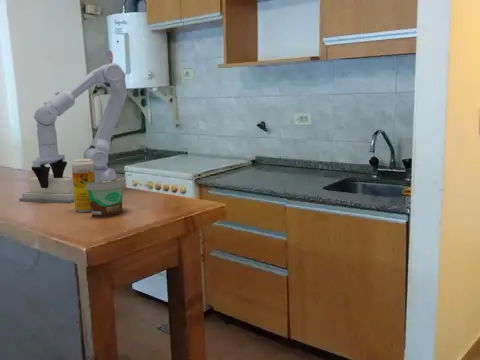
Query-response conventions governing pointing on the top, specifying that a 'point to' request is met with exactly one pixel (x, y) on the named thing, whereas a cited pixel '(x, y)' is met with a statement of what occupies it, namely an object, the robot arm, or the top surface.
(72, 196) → the stepped grey tray
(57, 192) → the long cream rectangular block
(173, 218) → the top surface
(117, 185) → the food container
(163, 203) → the top surface
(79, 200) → the beer can
